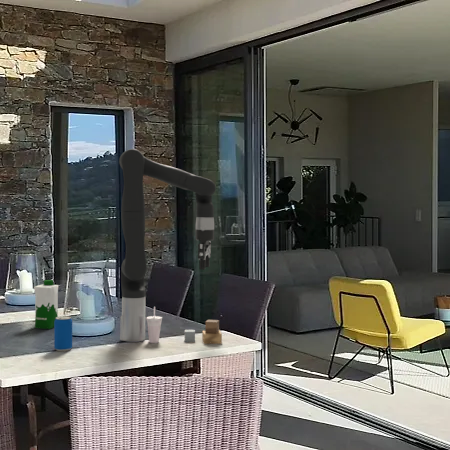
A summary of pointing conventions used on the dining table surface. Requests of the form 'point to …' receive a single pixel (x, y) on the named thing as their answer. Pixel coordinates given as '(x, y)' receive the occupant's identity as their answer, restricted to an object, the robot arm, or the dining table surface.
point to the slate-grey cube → (189, 335)
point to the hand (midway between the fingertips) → (204, 268)
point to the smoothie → (154, 327)
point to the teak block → (212, 338)
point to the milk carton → (46, 304)
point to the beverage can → (63, 333)
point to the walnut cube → (212, 326)
